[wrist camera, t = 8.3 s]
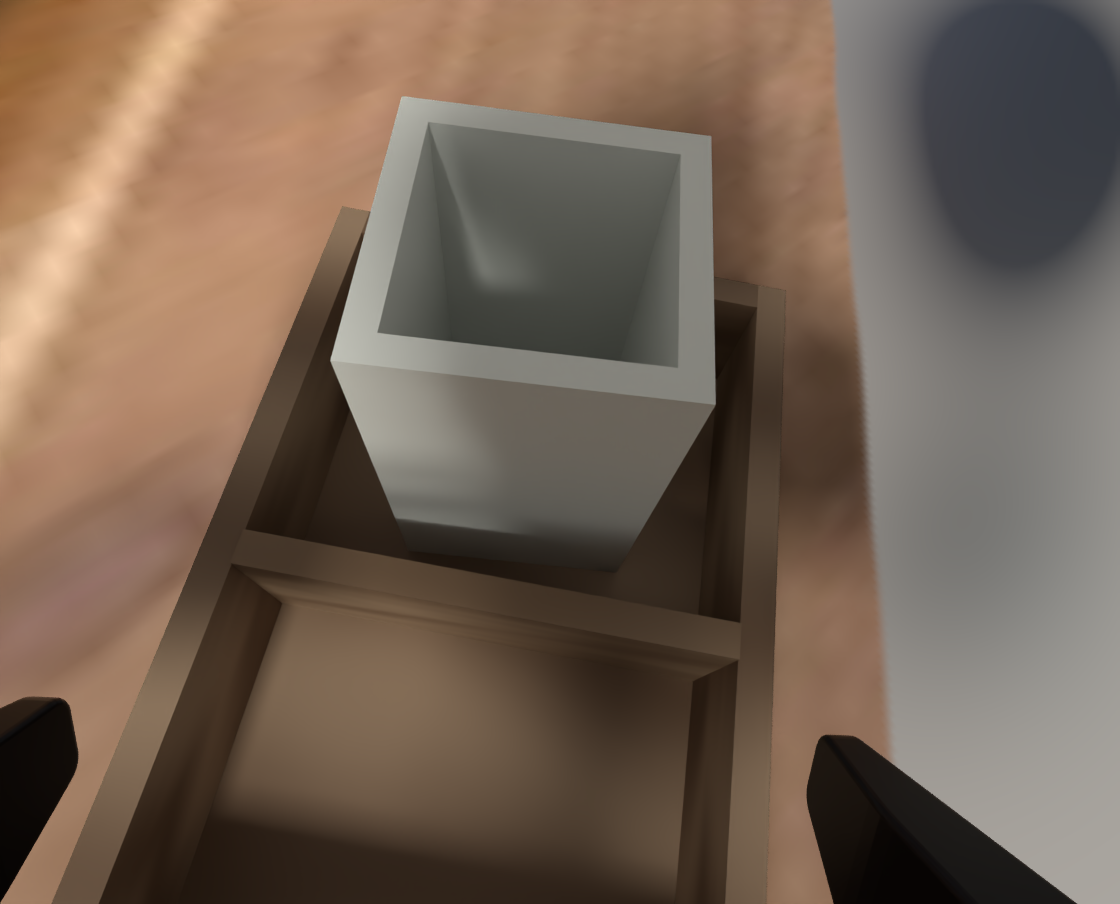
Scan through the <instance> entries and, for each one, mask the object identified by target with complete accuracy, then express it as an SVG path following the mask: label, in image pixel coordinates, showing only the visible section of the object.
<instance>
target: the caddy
mask: <svg viewBox="0 0 1120 904" xmlns="http://www.w3.org/2000/svg"><path fill="white" fill-rule="evenodd" d="M330 361H331V364H332V366H333V368H334V371H335V373H336V376H337V378H338V381H339V383H340V385H341V388H342V390H343V393H344V395H345V398H346V400H347V402H348V405H349V407H350V410H351V412H352V415H353V417H354V419H355V422H356V424H357V427H358V429H359V432H360V434H361V436H362V439H363V441H364V444H365V446H366V449H367V451H368V453H369V456H370V458H371V461H372V463H373V466H374V468H375V470H376V473H377V475H378V478H379V480H380V483H381V485H382V487H383V490H384V492H385V495H386V497H387V500H388V502H389V504H390V507H391V509H392V512H393V514H394V517H395V519H396V521H397V524H398V526H399V529H400V531H401V533H402V536H403V538H404V541H405V543H406V546H407V548H408V550H409V551H416V552H426V553H435V554H445V555H454V556H464V557H473V558H483V559H492V560H502V561H512V562H521V563H531V564H540V565H550V566H559V567H569V568H578V569H588V570H598V571H607V572H617V571H618V569H619V567H620V565H621V564H622V562H623V560H624V559H625V557H626V555H627V554H628V552H629V550H630V549H631V547H632V545H633V544H634V542H635V540H636V538H637V537H638V535H639V533H640V532H641V530H642V528H643V527H644V525H645V523H646V522H647V520H648V518H649V517H650V515H651V513H652V511H653V510H654V508H655V506H656V505H657V503H658V501H659V500H660V498H661V496H662V495H663V493H664V491H665V490H666V488H667V486H668V484H669V483H670V481H671V479H672V478H673V476H674V474H675V473H676V471H677V469H678V468H679V466H680V464H681V463H682V461H683V459H684V457H685V456H686V454H687V452H688V451H689V449H690V447H691V446H692V444H693V442H694V441H695V439H696V437H697V436H698V434H699V432H700V430H701V429H702V427H703V425H704V424H705V422H706V420H707V419H708V417H709V415H710V414H711V412H712V410H713V409H714V407H715V405H716V392H715V331H714V270H713V208H712V147H711V136H706V135H698V134H691V133H683V132H675V131H667V130H660V129H652V128H644V127H637V126H629V125H621V124H613V123H606V122H598V121H590V120H582V119H575V118H567V117H559V116H552V115H544V114H536V113H528V112H521V111H513V110H505V109H498V108H490V107H482V106H474V105H467V104H459V103H451V102H443V101H436V100H428V99H420V98H413V97H405V96H402V98H401V102H400V105H399V109H398V113H397V116H396V120H395V124H394V127H393V131H392V135H391V139H390V142H389V146H388V150H387V153H386V157H385V161H384V164H383V168H382V172H381V175H380V179H379V183H378V186H377V190H376V194H375V198H374V201H373V205H372V209H371V212H370V216H369V220H368V223H367V227H366V231H365V234H364V238H363V242H362V245H361V249H360V253H359V257H358V260H357V264H356V268H355V271H354V275H353V279H352V282H351V286H350V290H349V293H348V297H347V301H346V305H345V308H344V312H343V316H342V319H341V323H340V327H339V330H338V334H337V338H336V341H335V345H334V349H333V352H332V356H331V360H330Z"/></svg>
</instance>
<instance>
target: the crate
mask: <svg viewBox="0 0 1120 904" xmlns="http://www.w3.org/2000/svg"><path fill="white" fill-rule="evenodd" d="M369 216H370V211H364V210H359V209H354V208H348V207H343V206H342V208H341V211H340V213H339V215H338V218H337V220H336V223H335V225H334V227H333V230H332V232H331V235H330V237H329V239H328V242H327V244H326V247H325V249H324V251H323V254H322V256H321V259H320V261H319V263H318V266H317V268H316V271H315V273H314V275H313V278H312V280H311V283H310V285H309V287H308V290H307V292H306V295H305V297H304V299H303V302H302V304H301V307H300V309H299V311H298V314H297V316H296V319H295V321H294V323H293V326H292V328H291V331H290V333H289V335H288V338H287V340H286V343H285V345H284V347H283V350H282V352H281V355H280V357H279V359H278V362H277V364H276V367H275V369H274V371H273V374H272V376H271V379H270V381H269V383H268V386H267V388H266V391H265V393H264V395H263V398H262V400H261V403H260V405H259V407H258V410H257V412H256V415H255V417H254V419H253V422H252V424H251V427H250V429H249V431H248V434H247V436H246V439H245V441H244V443H243V446H242V448H241V451H240V453H239V455H238V458H237V460H236V463H235V465H234V467H233V470H232V472H231V475H230V477H229V479H228V482H227V484H226V487H225V489H224V491H223V494H222V496H221V499H220V501H219V503H218V506H217V508H216V511H215V513H214V515H213V518H212V520H211V523H210V525H209V527H208V530H207V532H206V535H205V537H204V539H203V542H202V544H201V547H200V549H199V551H198V554H197V556H196V558H195V561H194V563H193V566H192V568H191V570H190V573H189V575H188V578H187V580H186V582H185V585H184V587H183V590H182V592H181V594H180V597H179V599H178V602H177V604H176V606H175V609H174V611H173V614H172V616H171V618H170V621H169V623H168V626H167V628H166V630H165V633H164V635H163V638H162V640H161V642H160V645H159V647H158V650H157V652H156V654H155V657H154V659H153V662H152V664H151V666H150V669H149V671H148V674H147V676H146V678H145V681H144V683H143V686H142V688H141V690H140V693H139V695H138V698H137V700H136V702H135V705H134V707H133V710H132V712H131V714H130V717H129V719H128V722H127V724H126V726H125V729H124V731H123V734H122V736H121V738H120V741H119V743H118V746H117V748H116V750H115V753H114V755H113V758H112V760H111V762H110V765H109V767H108V770H107V772H106V774H105V777H104V779H103V782H102V784H101V786H100V789H99V791H98V794H97V796H96V798H95V801H94V803H93V806H92V808H91V810H90V813H89V815H88V818H87V820H86V822H85V825H84V827H83V830H82V832H81V834H80V837H79V839H78V842H77V844H76V846H75V849H74V851H73V854H72V856H71V858H70V861H69V863H68V866H67V868H66V870H65V873H64V875H63V878H62V880H61V882H60V885H59V887H58V890H57V892H56V894H55V897H54V899H53V902H52V904H766V896H767V865H768V834H769V802H770V771H771V740H772V708H773V677H774V646H775V614H776V583H777V551H778V520H779V489H780V457H781V426H782V394H783V363H784V332H785V300H786V290H781V289H775V288H770V287H765V286H760V285H754V284H749V283H744V282H739V281H733V280H728V279H723V278H717V277H714V331H715V392H716V405H715V407H714V409H713V410H712V412H711V414H710V415H709V417H708V419H707V420H706V422H705V424H704V425H703V427H702V429H701V430H700V432H699V434H698V436H697V437H696V439H695V441H694V442H693V444H692V446H691V447H690V449H689V451H688V452H687V454H686V456H685V457H684V459H683V461H682V463H681V464H680V466H679V468H678V469H677V471H676V473H675V474H674V476H673V478H672V479H671V481H670V483H669V484H668V486H667V488H666V490H665V491H664V493H663V495H662V496H661V498H660V500H659V501H658V503H657V505H656V506H655V508H654V510H653V511H652V513H651V515H650V517H649V518H648V520H647V522H646V523H645V525H644V527H643V528H642V530H641V532H640V533H639V535H638V537H637V538H636V540H635V542H634V544H633V545H632V547H631V549H630V550H629V552H628V554H627V555H626V557H625V559H624V560H623V562H622V564H621V565H620V567H619V569H618V571H617V572H607V571H598V570H588V569H578V568H569V567H559V566H550V565H540V564H531V563H521V562H512V561H502V560H492V559H483V558H473V557H464V556H454V555H445V554H435V553H426V552H416V551H409V550H408V548H407V546H406V543H405V541H404V538H403V536H402V533H401V531H400V529H399V526H398V524H397V521H396V519H395V517H394V514H393V512H392V509H391V507H390V504H389V502H388V500H387V497H386V495H385V492H384V490H383V487H382V485H381V483H380V480H379V478H378V475H377V473H376V470H375V468H374V466H373V463H372V461H371V458H370V456H369V453H368V451H367V449H366V446H365V444H364V441H363V439H362V436H361V434H360V432H359V429H358V427H357V424H356V422H355V419H354V417H353V415H352V412H351V410H350V407H349V405H348V402H347V400H346V398H345V395H344V393H343V390H342V388H341V385H340V383H339V381H338V378H337V376H336V373H335V371H334V368H333V366H332V364H331V361H330V360H331V356H332V352H333V349H334V345H335V341H336V338H337V334H338V330H339V327H340V323H341V319H342V316H343V312H344V308H345V305H346V301H347V297H348V293H349V290H350V286H351V282H352V279H353V275H354V271H355V268H356V264H357V260H358V257H359V253H360V249H361V245H362V242H363V238H364V234H365V231H366V227H367V223H368V220H369Z"/></svg>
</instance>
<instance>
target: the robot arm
mask: <svg viewBox="0 0 1120 904" xmlns="http://www.w3.org/2000/svg"><path fill="white" fill-rule="evenodd" d="M77 764H78V748H77V742H76V737H75V731H74V726H73V721H72V715H71V710H70V707H69V705H68V703H67V702H66V701H65V700H63V699H61V698H53V697H25V698H22V699H19V700H17V701H15V702H13V703H11V704H8V705H6V706H4V707H2V708H0V902H1V901H2V899H3V897H4V896H5V894H6V893H7V891H8V889H9V888H10V886H11V884H12V882H13V881H14V879H15V877H16V875H17V874H18V872H19V870H20V868H21V867H22V865H23V863H24V861H25V860H26V858H27V856H28V855H29V853H30V851H31V849H32V848H33V846H34V844H35V842H36V841H37V839H38V837H39V835H40V834H41V832H42V830H43V828H44V827H45V825H46V823H47V821H48V820H49V818H50V816H51V815H52V813H53V811H54V809H55V808H56V806H57V804H58V802H59V801H60V799H61V797H62V795H63V794H64V792H65V790H66V788H67V787H68V785H69V783H70V781H71V780H72V778H73V776H74V773H75V771H76V768H77ZM807 805H808V810H809V814H810V817H811V821H812V825H813V829H814V832H815V836H816V840H817V843H818V847H819V851H820V855H821V858H822V862H823V866H824V869H825V873H826V877H827V881H828V884H829V888H830V892H831V895H832V899H833V903H834V904H1077V903H1075V902H1074V901H1073V900H1071V899H1070V898H1069V897H1067V896H1066V895H1065V894H1064V893H1062V892H1061V891H1059V890H1058V889H1057V888H1056V887H1054V886H1053V885H1052V884H1050V883H1049V882H1048V881H1046V880H1045V879H1044V878H1042V877H1041V876H1040V875H1038V874H1037V873H1036V872H1035V871H1033V870H1032V869H1030V868H1029V867H1028V866H1027V865H1025V864H1024V863H1023V862H1021V861H1020V860H1019V859H1017V858H1016V857H1015V856H1013V855H1012V854H1011V853H1009V852H1008V851H1007V850H1005V849H1004V848H1003V847H1001V846H1000V845H999V844H997V843H996V842H994V840H992V839H991V838H990V837H988V836H987V835H986V834H984V833H983V832H982V831H980V830H979V829H978V828H976V827H975V826H974V825H972V824H971V823H970V822H968V821H967V820H966V819H964V818H963V817H962V816H960V815H959V814H958V813H957V812H955V811H954V810H953V809H951V808H950V807H949V806H947V805H946V804H945V803H943V802H942V801H941V800H939V799H938V798H937V797H935V796H934V795H933V794H931V793H930V792H929V791H928V790H926V789H925V788H923V787H922V786H921V785H920V784H918V783H917V782H915V781H914V780H913V779H911V778H910V777H909V776H908V775H906V774H905V773H904V772H902V771H901V770H900V769H898V768H897V767H896V766H894V765H893V764H892V763H891V762H889V761H888V760H887V759H885V758H884V757H883V756H881V755H880V754H879V753H877V752H876V751H875V750H873V749H872V748H871V747H869V746H868V745H867V744H865V743H864V742H863V741H861V740H860V739H858V738H857V737H854V736H847V735H824V736H822V737H821V738H820V739H819V741H818V743H817V746H816V750H815V754H814V759H813V763H812V767H811V772H810V776H809V780H808V785H807Z"/></svg>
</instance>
